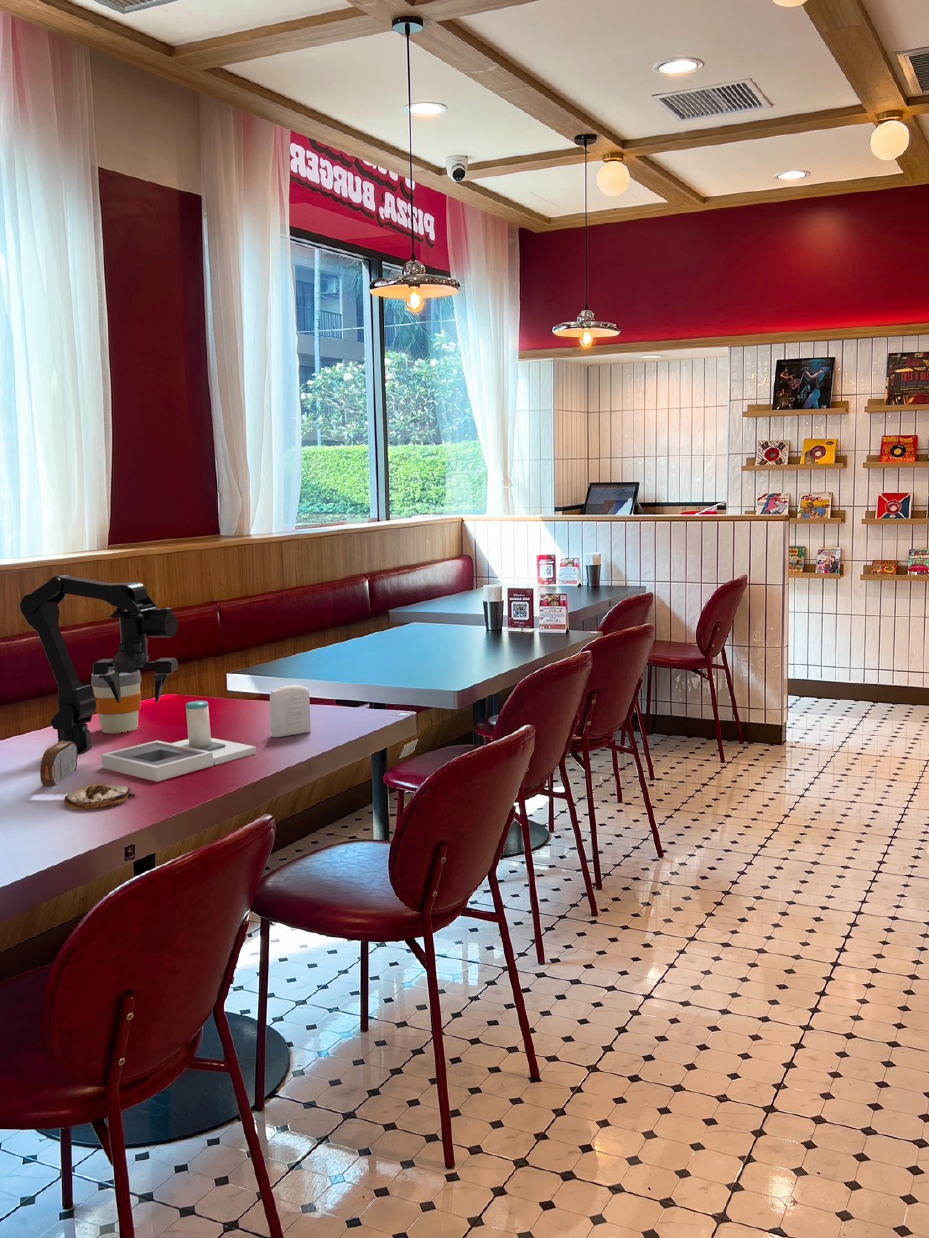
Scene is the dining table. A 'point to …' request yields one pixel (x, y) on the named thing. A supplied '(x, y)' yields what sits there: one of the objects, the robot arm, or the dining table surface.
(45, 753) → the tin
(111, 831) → the dining table surface
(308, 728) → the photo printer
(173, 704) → the dining table surface
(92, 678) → the reusable coffee cup
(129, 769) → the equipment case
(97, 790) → the brown topped flatbread
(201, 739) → the ball
